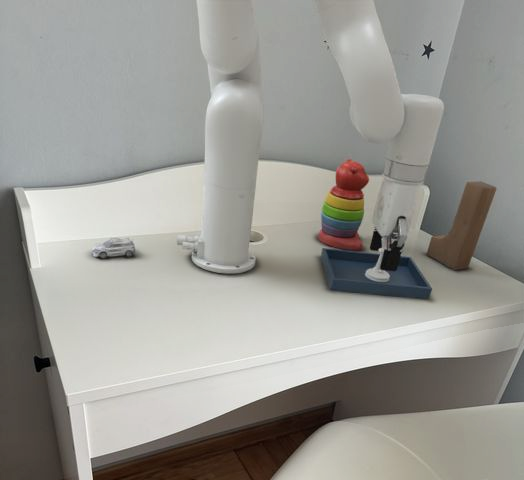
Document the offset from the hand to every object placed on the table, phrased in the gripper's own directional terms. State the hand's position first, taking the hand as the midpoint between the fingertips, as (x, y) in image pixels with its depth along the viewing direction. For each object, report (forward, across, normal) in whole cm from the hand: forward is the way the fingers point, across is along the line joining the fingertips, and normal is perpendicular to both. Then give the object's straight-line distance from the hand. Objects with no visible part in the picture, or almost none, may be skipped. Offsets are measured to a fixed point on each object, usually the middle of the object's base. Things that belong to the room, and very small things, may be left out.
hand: (382, 259), depth 102 cm
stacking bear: (+4, -19, -5) cm, 20 cm away
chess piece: (+4, 0, 0) cm, 4 cm away
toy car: (+4, +1, -52) cm, 52 cm away
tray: (+4, 0, -1) cm, 4 cm away
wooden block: (+4, -13, +19) cm, 23 cm away
